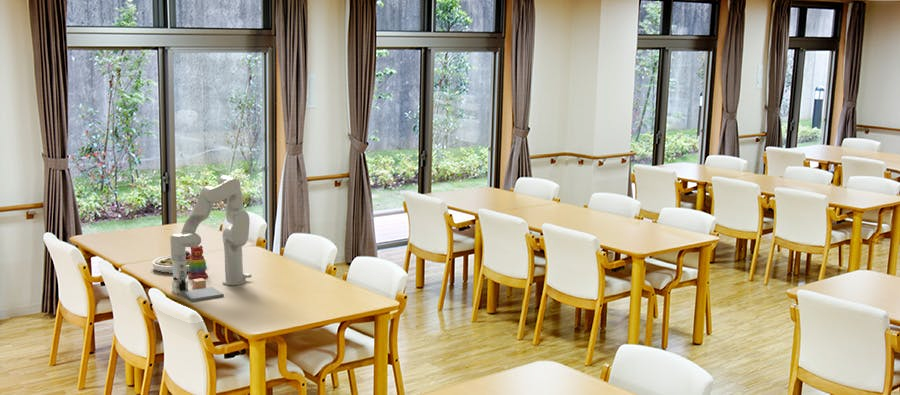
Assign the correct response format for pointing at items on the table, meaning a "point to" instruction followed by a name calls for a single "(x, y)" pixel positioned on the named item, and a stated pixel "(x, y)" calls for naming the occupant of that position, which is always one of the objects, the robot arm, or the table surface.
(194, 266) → the stacking bear
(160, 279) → the table surface
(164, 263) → the bowl
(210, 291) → the base board
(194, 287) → the terracotta block
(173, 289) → the cream block
